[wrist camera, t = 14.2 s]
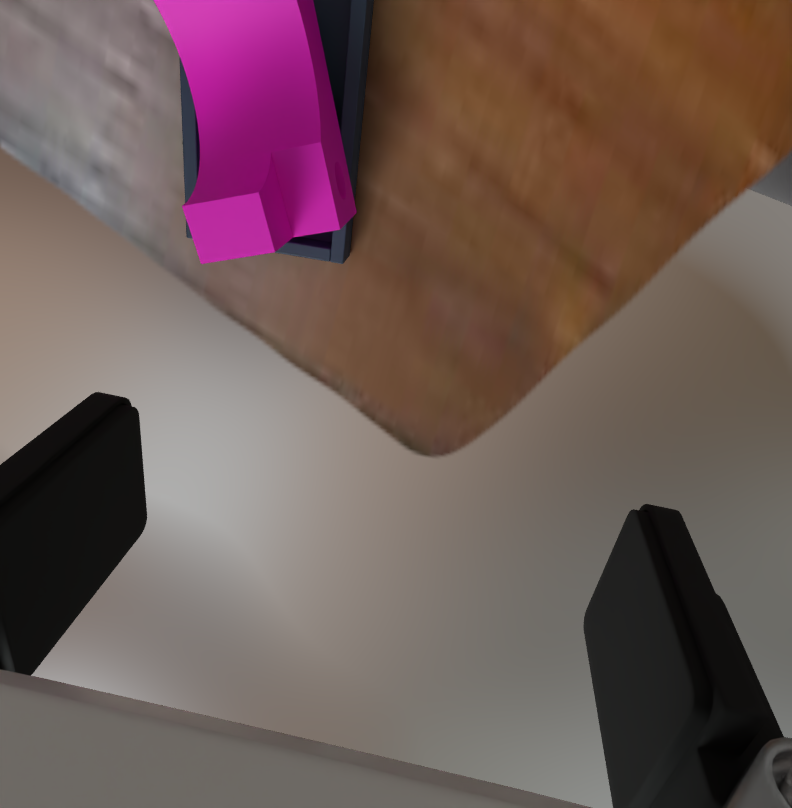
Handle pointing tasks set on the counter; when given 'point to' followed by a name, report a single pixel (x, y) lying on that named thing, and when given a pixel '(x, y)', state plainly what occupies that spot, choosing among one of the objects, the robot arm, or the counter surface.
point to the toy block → (259, 125)
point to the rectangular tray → (347, 68)
